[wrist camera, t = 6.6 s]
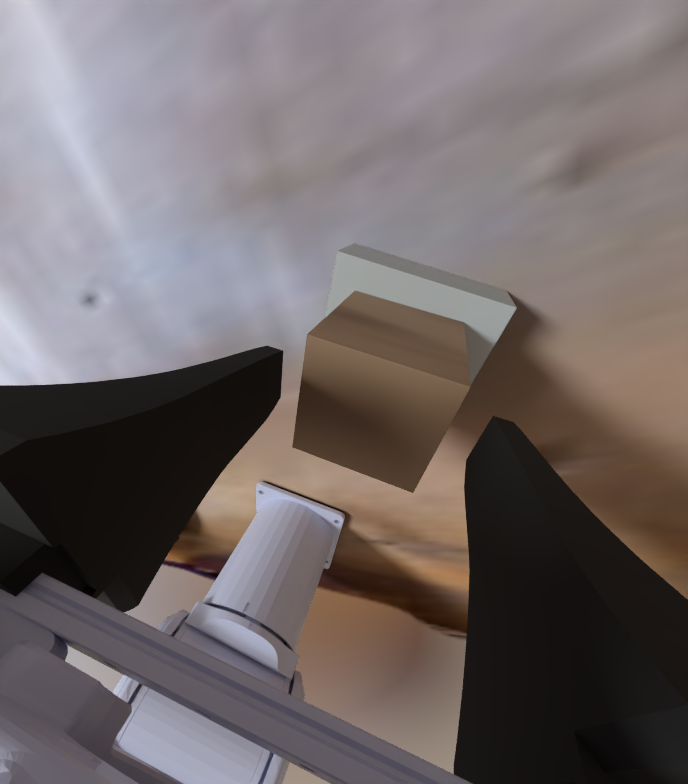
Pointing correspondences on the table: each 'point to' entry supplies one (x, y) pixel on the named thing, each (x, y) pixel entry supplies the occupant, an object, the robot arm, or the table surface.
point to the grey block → (425, 295)
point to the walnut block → (381, 387)
